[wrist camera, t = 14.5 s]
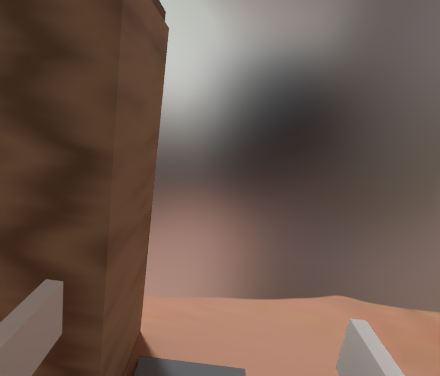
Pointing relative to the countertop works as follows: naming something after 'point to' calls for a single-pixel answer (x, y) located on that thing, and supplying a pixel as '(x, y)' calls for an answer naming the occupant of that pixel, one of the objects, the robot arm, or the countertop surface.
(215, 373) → the mat
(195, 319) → the countertop surface
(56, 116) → the stand
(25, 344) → the robot arm
